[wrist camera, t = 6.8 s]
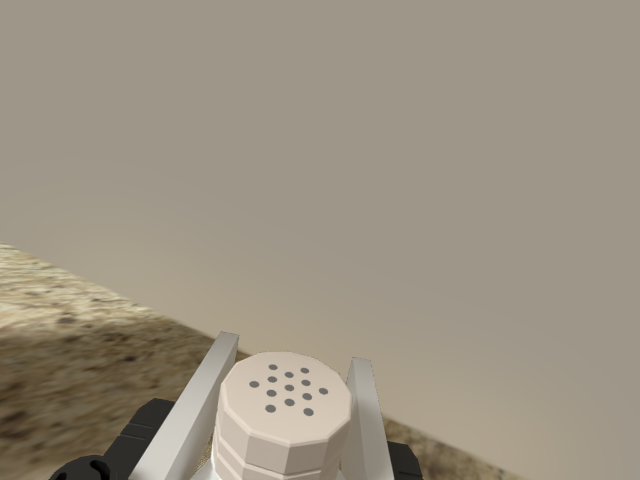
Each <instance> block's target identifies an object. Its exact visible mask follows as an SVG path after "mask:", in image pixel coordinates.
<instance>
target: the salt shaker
mask: <svg viewBox="0 0 640 480" xmlns="http://www.w3.org/2000/svg"><path fill="white" fill-rule="evenodd" d="M352 403H353V395H352V393H351V392H350V390H349V389H348V387H347V385H346V384H345V382H344V381H343V379H342V377H341V376H340V374H339V373H337V372H336V371H334V370H333V369H331V368H330V367H328V366H327V365H325V364H324V363H322V362H321V361H319V360H318V359H316V358H312V357H309V356H305V355H301V354H298V353H294V352H290V351H278V352H260V353H257V354H255V355H253V356H251V357H248V358H246V359H244V360H241V361H239V362H237V363H236V364H235V365H234V366H233V368H232V369H231V371H230V372H229V373H228V375H227V376H226V378H225V379H224V380H223V382H222V383H221V387H220V394H219V401H218V411H217V415H216V421H215V424H216V426H215V428H214V435H213V443H212V452H211V457H210V458H209V459H208V460H207V461H206V462H205V463H204V464H203V465H202V466H201V468H200V469H199V470H198V471H197V472H196V473H195V474H194V475H193V476H192V478H191V479H190V480H347V479H346V478H345V476H344V475H343V473H342V472H341V470H340V469H339V466H340V461H341V457H342V453H343V448H344V445H345V442H346V438H347V434H348V430H349V426H350V422H351V413H352Z"/></svg>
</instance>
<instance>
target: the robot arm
mask: <svg viewBox="0 0 640 480" xmlns="http://www.w3.org/2000/svg"><path fill="white" fill-rule="evenodd" d="M238 339H239V335H237V334H232V333H226V332H220V334H219V335H218V337H217V339H216V340H215V342H214V343H213V345H212V347H211V348H210V350H209V351H208V353H207V354H206V356H205V358H204V359H203V361H202V362H201V364H200V366H199V367H198V369H197V370H196V372H195V373H194V375H193V377H192V378H191V380H190V381H189V383H188V385H187V386H186V388H185V389H184V391H183V392H182V394H181V396H180V397H179V399H178V400H177V402H173V401H167V400H162V399H157V398H154V399H153V400H151V401H150V402H148V403H147V404H145V405H144V406H142V407H141V408H139V410H138V411H137V412H136V414H135V415H134V416H133V418H132V419H131V420H130V421H129V424H128V425H126V427H125V428H124V429H123V431H122V432H121V433H120V436H118V437H117V438H116V440H115V441H114V442H113V444H112V445H111V446H110V448H109V449H108V450H107V452H106V453H105V454H104V456H99V455H91V456H85V457H80V458H78V459H76V460H73V461H71V462H68V463H67V464H65V465H64V466H63V467H61V468H60V469H58V470H57V471H56V472H55V473H54V474H53V475H52V476H51V477H50V479H49V480H190V479H191V478H192V476H193V475H194V474H195V472H196V470H197V468H198V465H199V463H200V461H201V458H202V456H203V454H204V451H205V449H206V447H207V444H208V442H209V440H210V437H211V435H212V433H213V430H214V428H215V426H216V424H215V421H216V415H217V411H218V401H219V394H220V387H221V383H222V382H223V380H224V379H225V378H226V376H227V375H228V373H229V372H230V371H231V369H232V368H233V366H234V365H235V359H236V352H237V346H238ZM346 385H347V387H348V389H349V390H350V392H351V393H352V395H353V403H352V413H351V422H350V426H349V430H348V434H347V438H346V442H345V445H344V448H343V453H342V457H341V472H342V473H343V475H344V476H345V478H346V479H347V480H424V479H422V472H421V469H420V466H419V462H418V459H417V458H416V456H415V455H414V453H413V452H412V450H411V449H410V448H409V446H408V445H406V444H400V443H395V442H390V441H387V440H386V435H385V430H384V425H383V420H382V415H381V411H380V405H379V400H378V396H377V390H376V386H375V381H374V375H373V370H372V365H371V361H370V360H366V359H361V358H355V357H353V358H352V362H351V366H350V370H349V374H348V378H347V382H346Z"/></svg>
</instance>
